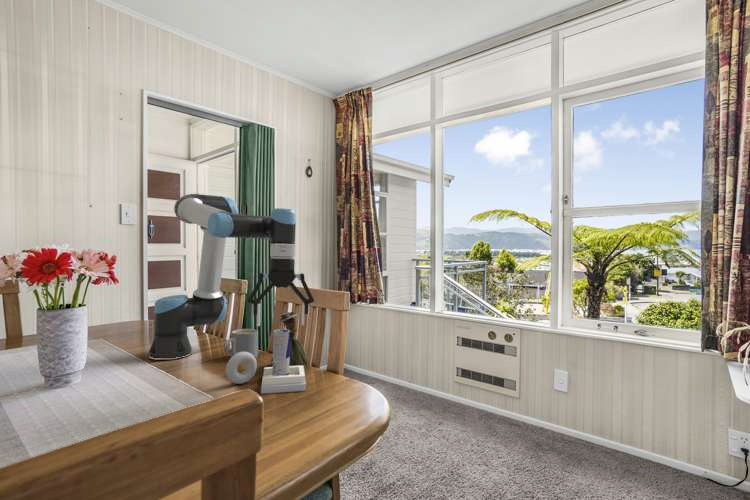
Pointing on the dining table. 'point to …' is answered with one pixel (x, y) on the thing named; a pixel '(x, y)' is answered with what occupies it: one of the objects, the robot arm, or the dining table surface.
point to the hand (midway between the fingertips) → (280, 325)
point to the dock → (284, 381)
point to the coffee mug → (243, 342)
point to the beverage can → (281, 352)
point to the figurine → (293, 341)
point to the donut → (233, 364)
